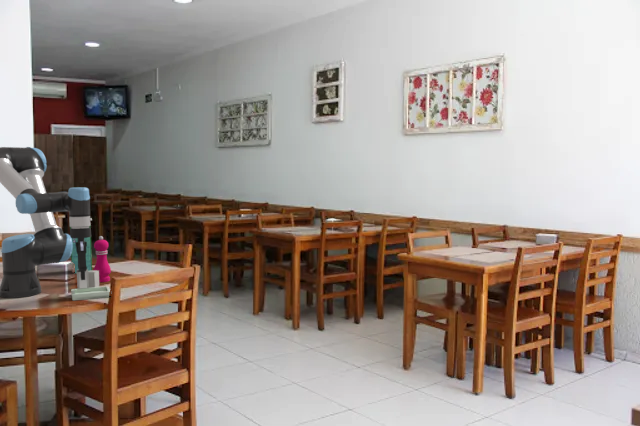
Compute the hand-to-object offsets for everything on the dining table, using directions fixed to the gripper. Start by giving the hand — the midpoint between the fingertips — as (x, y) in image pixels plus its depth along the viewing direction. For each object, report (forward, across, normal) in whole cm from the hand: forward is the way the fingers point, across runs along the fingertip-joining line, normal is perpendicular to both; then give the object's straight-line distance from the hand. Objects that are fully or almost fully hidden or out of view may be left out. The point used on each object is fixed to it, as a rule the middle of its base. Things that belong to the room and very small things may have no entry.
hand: (83, 286), depth 232 cm
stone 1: (0, 0, 0) cm, 0 cm away
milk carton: (+4, +58, -2) cm, 58 cm away
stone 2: (+4, +16, -4) cm, 17 cm away
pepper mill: (+4, +29, -9) cm, 31 cm away
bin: (+4, 0, -3) cm, 5 cm away
